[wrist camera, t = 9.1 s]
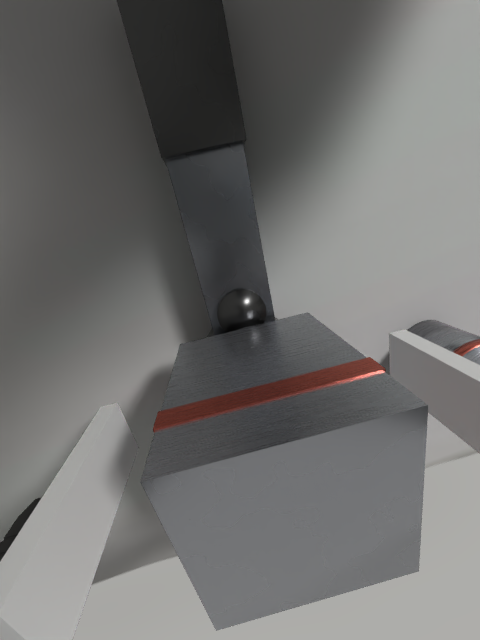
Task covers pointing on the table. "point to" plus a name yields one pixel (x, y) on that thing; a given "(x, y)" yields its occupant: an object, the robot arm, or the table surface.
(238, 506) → the socket
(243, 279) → the ratchet
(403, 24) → the table surface
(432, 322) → the socket small
